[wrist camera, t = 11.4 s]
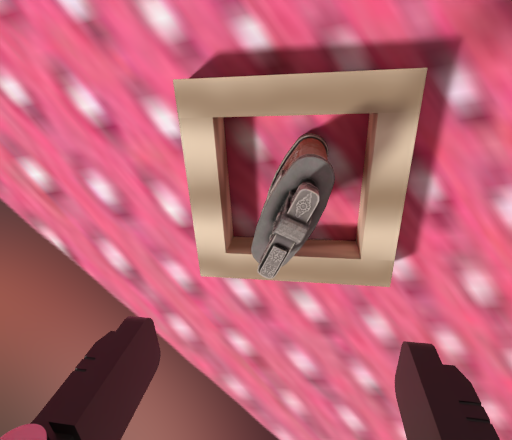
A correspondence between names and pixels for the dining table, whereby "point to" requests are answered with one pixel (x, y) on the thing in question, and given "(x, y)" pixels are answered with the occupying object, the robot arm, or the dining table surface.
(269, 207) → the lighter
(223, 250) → the square beige frame
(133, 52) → the dining table surface
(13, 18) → the dining table surface
